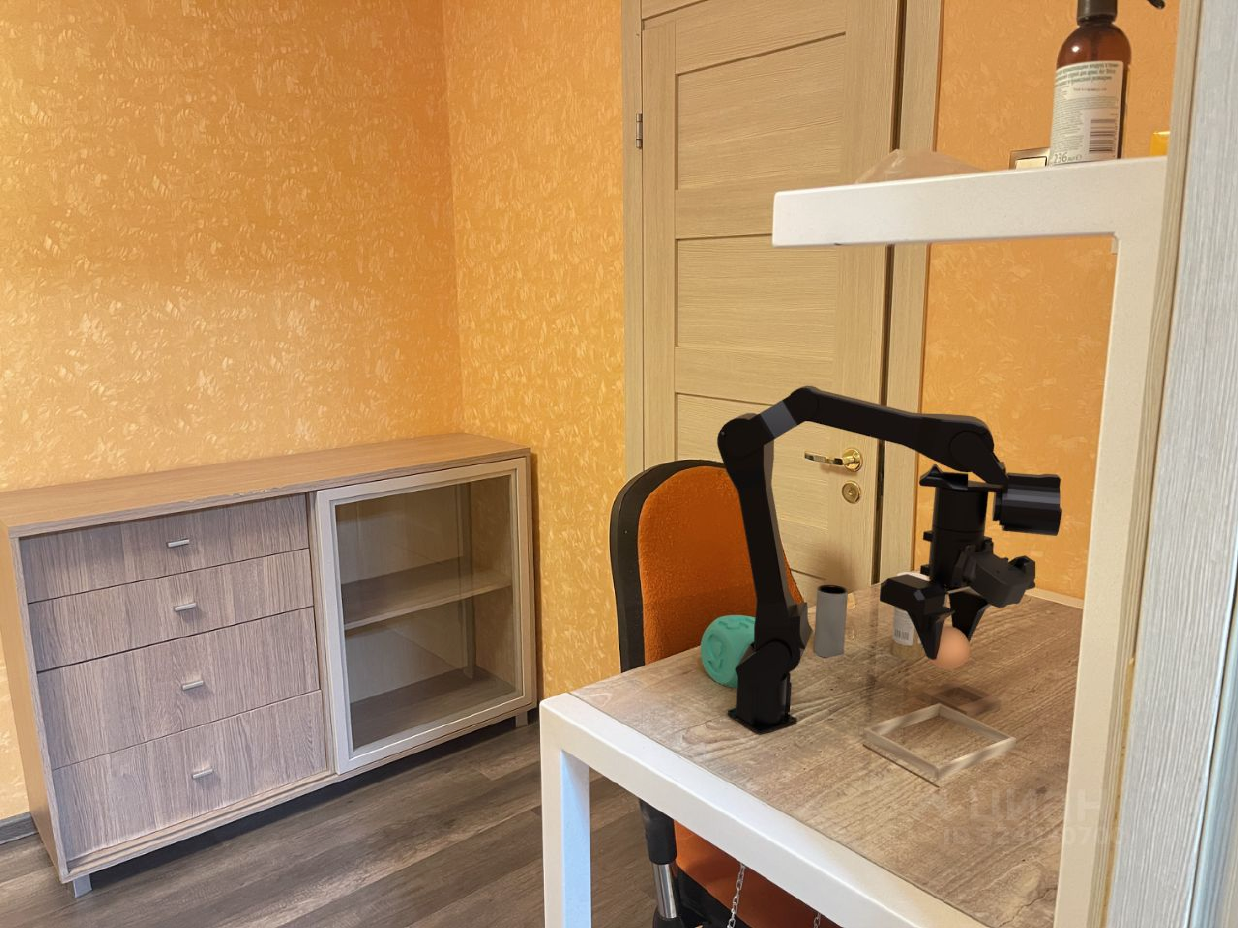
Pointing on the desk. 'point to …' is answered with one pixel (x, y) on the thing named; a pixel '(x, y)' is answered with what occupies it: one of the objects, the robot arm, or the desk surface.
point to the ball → (952, 649)
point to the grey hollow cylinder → (830, 620)
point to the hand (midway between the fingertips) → (946, 654)
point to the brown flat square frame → (980, 699)
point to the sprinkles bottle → (905, 632)
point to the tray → (930, 768)
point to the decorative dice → (726, 646)
